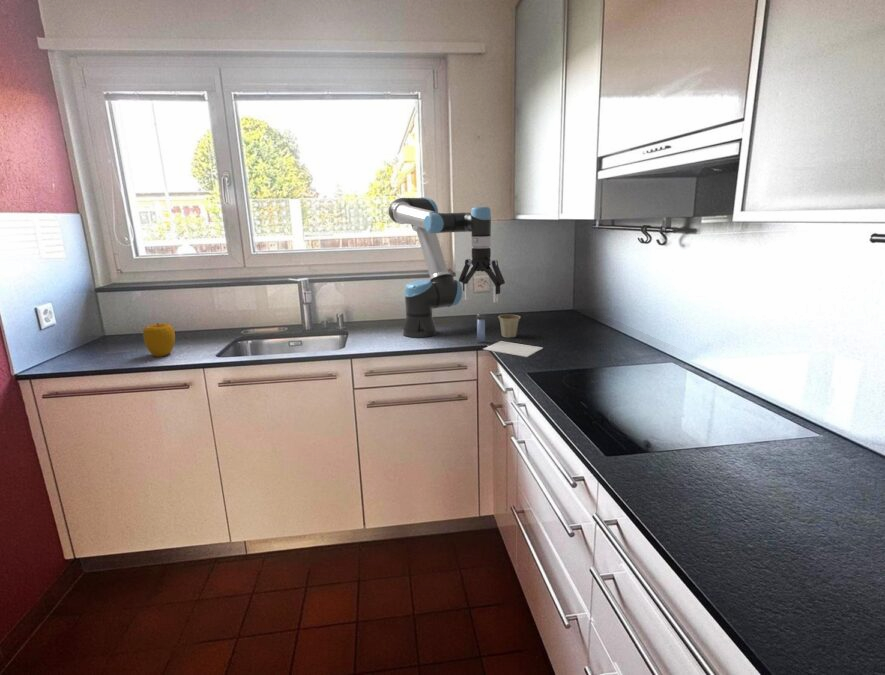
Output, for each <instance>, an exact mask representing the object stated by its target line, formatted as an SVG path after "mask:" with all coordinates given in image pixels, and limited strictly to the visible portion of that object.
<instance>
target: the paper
mask: <svg viewBox="0 0 885 675" xmlns="http://www.w3.org/2000/svg"><path fill="white" fill-rule="evenodd" d="M543 349H544V347H542V346H541V347H540V346H535V345H529V344H521V343H516V342H515V343H514V342H510V341H503V340H500V341H498V342H495V343H493V344H491V345H489V346H486V347H483V348H482V350H484V351H489V352H495V353H502V354H507V355H514V356H519V357H524V358H528V357H530V356H532V355H534V354H536V353H537V352H539V351H541V350H543Z"/></svg>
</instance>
